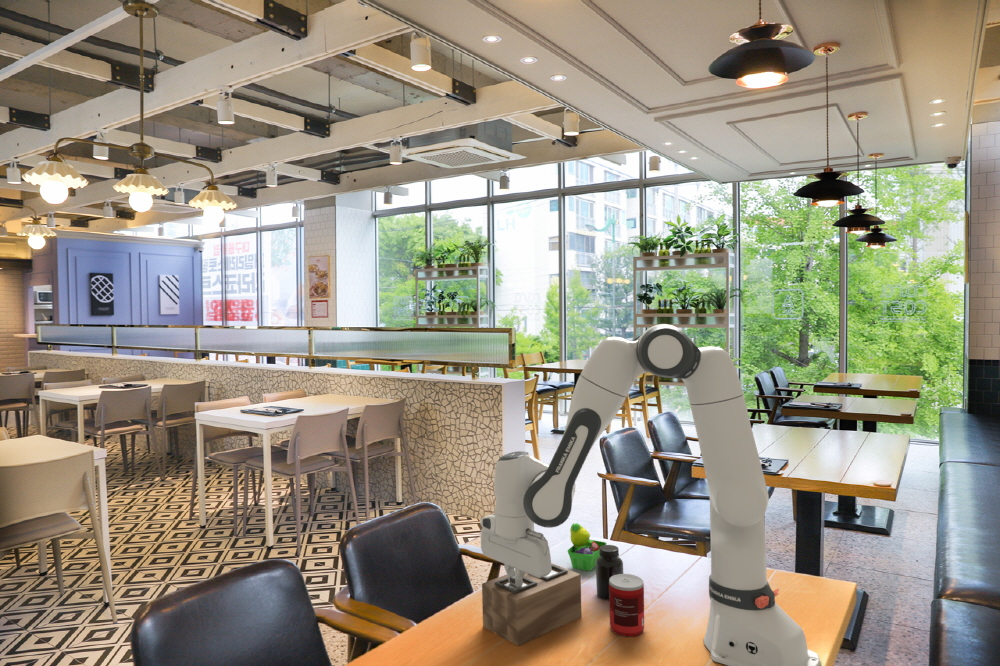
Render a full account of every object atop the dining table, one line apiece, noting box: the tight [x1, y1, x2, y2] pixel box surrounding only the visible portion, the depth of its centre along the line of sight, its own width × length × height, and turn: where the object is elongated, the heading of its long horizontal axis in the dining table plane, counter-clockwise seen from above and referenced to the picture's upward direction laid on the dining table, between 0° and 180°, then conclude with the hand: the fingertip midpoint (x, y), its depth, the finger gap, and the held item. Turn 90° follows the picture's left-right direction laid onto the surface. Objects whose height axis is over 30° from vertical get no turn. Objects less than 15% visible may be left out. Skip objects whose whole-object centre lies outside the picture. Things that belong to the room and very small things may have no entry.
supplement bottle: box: [595, 544, 624, 601], centre depth 166 cm, size 7×7×12 cm
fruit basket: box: [567, 522, 608, 572], centre depth 187 cm, size 11×9×11 cm
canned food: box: [608, 573, 645, 638], centre depth 148 cm, size 8×8×11 cm
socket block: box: [481, 562, 582, 647], centre depth 153 cm, size 12×20×11 cm, turn 131°
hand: (515, 584), depth 149 cm, fingers closed, pressing on peg
